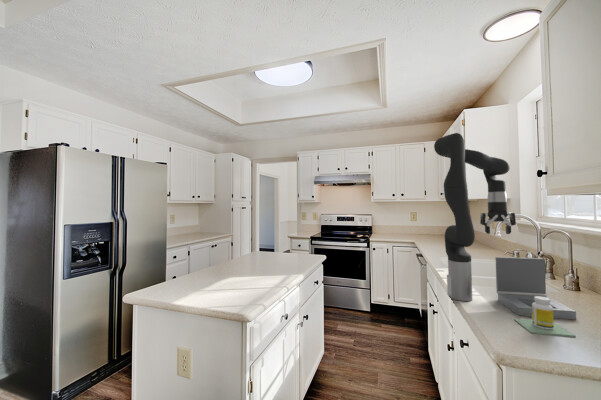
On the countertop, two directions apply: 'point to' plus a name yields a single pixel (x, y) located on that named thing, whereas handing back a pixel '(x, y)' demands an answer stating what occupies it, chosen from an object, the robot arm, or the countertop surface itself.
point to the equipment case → (525, 286)
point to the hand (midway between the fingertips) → (498, 233)
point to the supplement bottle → (542, 313)
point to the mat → (536, 330)
